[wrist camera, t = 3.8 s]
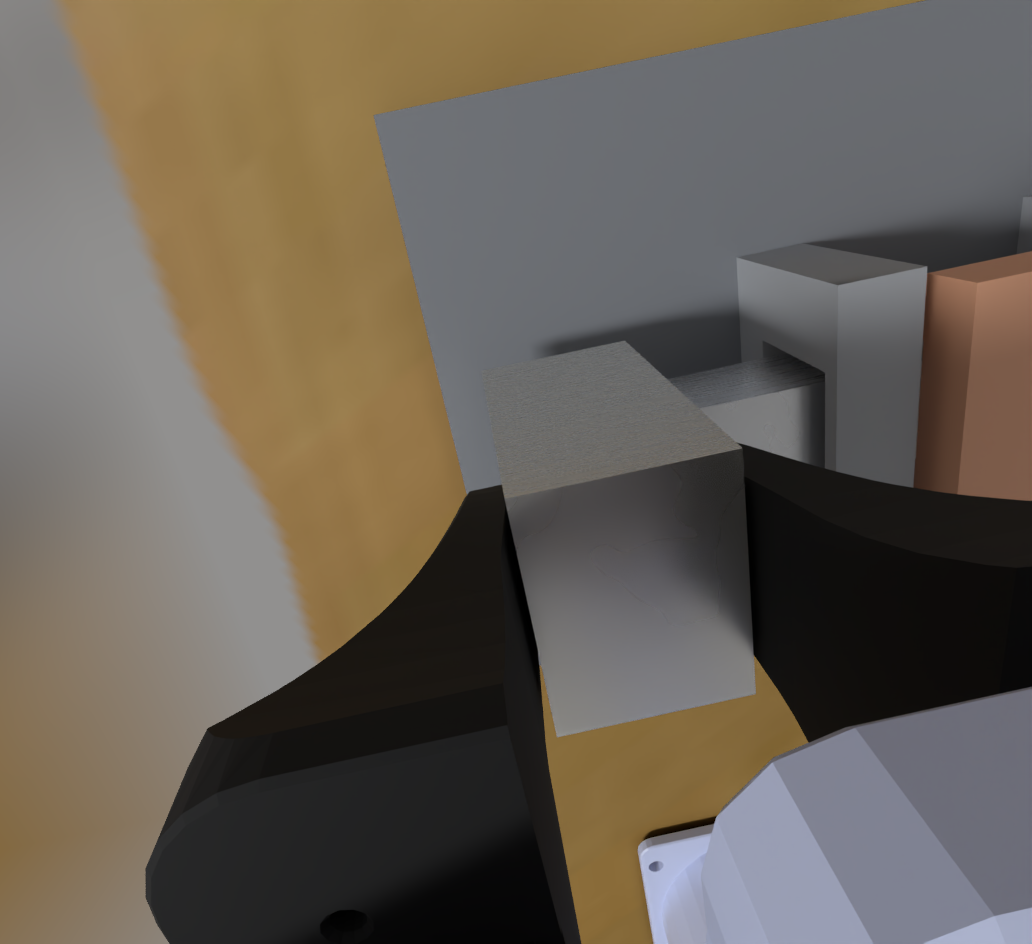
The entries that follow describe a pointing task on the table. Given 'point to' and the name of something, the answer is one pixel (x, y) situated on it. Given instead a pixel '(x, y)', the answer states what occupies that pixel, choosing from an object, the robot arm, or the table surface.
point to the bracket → (725, 211)
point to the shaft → (641, 520)
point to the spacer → (977, 381)
